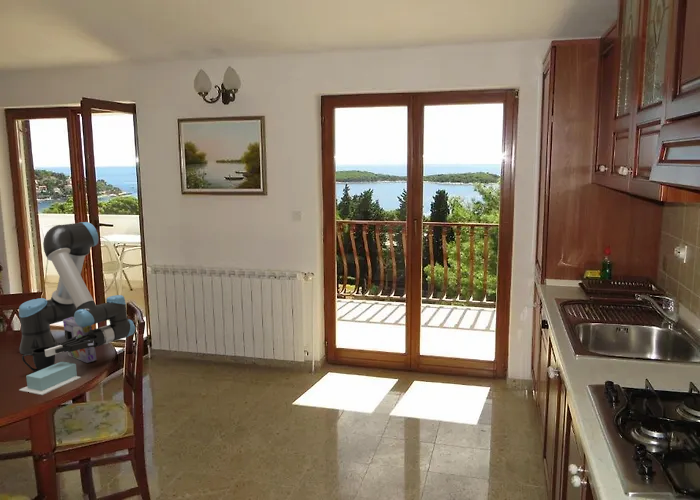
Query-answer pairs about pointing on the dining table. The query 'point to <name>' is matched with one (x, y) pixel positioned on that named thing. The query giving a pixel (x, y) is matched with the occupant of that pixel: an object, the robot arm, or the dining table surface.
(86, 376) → the dining table surface
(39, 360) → the mug
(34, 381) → the teal block
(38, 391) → the white mat
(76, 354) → the cake pan box
